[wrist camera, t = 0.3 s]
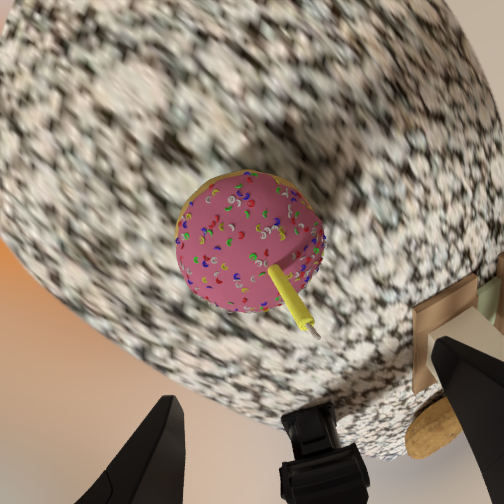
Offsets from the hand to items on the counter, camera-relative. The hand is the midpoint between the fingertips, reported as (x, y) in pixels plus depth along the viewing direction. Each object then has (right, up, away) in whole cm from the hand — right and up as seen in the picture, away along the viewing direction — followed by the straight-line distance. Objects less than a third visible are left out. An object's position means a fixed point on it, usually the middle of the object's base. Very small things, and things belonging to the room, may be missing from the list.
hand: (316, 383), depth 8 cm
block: (+21, -6, +19) cm, 29 cm away
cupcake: (-3, +6, +13) cm, 14 cm away
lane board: (+24, -5, +20) cm, 32 cm away
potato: (+28, -22, +27) cm, 45 cm away
